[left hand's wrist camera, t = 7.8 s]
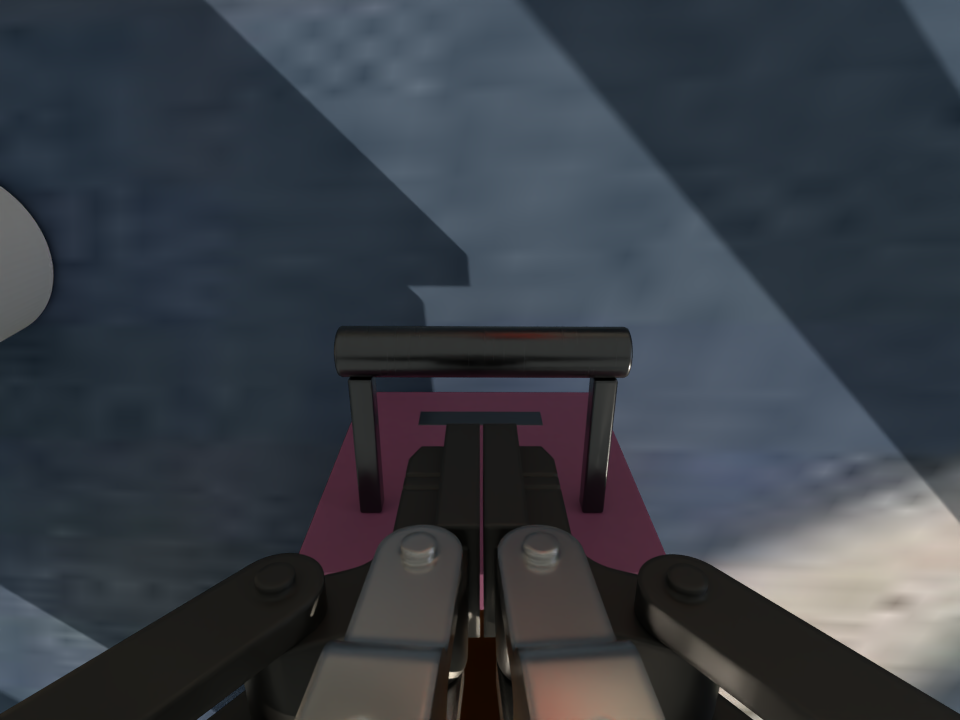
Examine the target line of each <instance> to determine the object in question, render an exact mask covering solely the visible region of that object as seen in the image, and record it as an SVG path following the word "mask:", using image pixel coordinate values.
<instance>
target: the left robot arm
mask: <svg viewBox="0 0 960 720" xmlns="http://www.w3.org/2000/svg"><path fill="white" fill-rule="evenodd" d="M483 602H484V637H496V686H497V695H498V704H499V713H500V720H753V719H751V718H750V717H749V716H748V715H746V714H745V713H744V712H742V711H741V710H740V709H738V708H737V707H736V706H735V705H733V704H732V703H731V702H729V701H728V700H727V699H725V698H724V697H723V696H722V695H720V694H719V693H718V692H719V687H721V688H722V689H724V690H725V691H726V692H728V693H729V694H730V695H732V696H733V697H734V698H736V699H737V700H738V701H740V702H741V703H742V704H743V705H745V706H746V707H747V708H749V709H750V710H751V711H753V712H754V713H755V714H757V715H758V716H759V717H761V718H762V719H763V720H960V714H959V713H957V712H955V711H954V710H952V709H950V708H949V707H947V706H945V705H944V704H942V703H940V702H939V701H937V700H935V699H934V698H932V697H930V696H929V695H927V694H925V693H924V692H922V691H920V690H919V689H917V688H915V687H914V686H912V685H910V684H909V683H907V682H905V681H904V680H902V679H900V678H899V677H897V676H895V675H894V674H892V673H890V672H889V671H887V670H885V669H884V668H882V667H880V666H879V665H877V664H875V663H874V662H872V661H870V660H869V659H867V658H865V657H864V656H862V655H860V654H859V653H857V652H855V651H854V650H852V649H850V648H849V647H847V646H845V645H844V644H842V643H840V642H839V641H837V640H835V639H833V638H832V637H830V636H828V635H827V634H825V633H823V632H822V631H820V630H818V629H817V628H815V627H813V626H812V625H810V624H808V623H807V622H805V621H803V620H802V619H800V618H798V617H797V616H795V615H793V614H792V613H790V612H788V611H787V610H785V609H783V608H782V607H780V606H778V605H777V604H775V603H773V602H772V601H770V600H768V599H767V598H765V597H763V596H762V595H760V594H758V593H757V592H755V591H753V590H752V589H750V588H748V587H747V586H745V585H743V584H742V583H740V582H738V581H737V580H735V579H733V578H732V577H730V576H728V575H727V574H725V573H723V572H722V571H720V570H718V569H717V568H715V567H713V566H712V565H710V564H708V563H706V562H704V561H701V560H699V559H696V558H693V557H689V556H684V555H675V554H668V555H660V556H656V557H653V558H651V559H649V560H648V561H646V562H645V563H644V564H643V565H642V566H641V568H640V570H639V572H638V574H634V573H630V572H625V571H621V570H617V569H613V568H610V567H607V566H604V565H602V564H599V563H597V562H595V561H593V560H592V559H590V558H589V557H587V556H586V555H585V552H584V549H583V547H582V545H581V544H580V542H579V541H578V540H577V539H576V538H575V537H574V536H572V535H571V530H570V526H569V522H568V517H567V513H566V508H565V504H564V500H563V495H562V491H561V489H560V482H559V478H558V474H557V469H556V465H555V460H554V458H553V457H552V456H551V455H550V454H549V453H548V452H547V451H546V450H545V449H544V448H543V447H542V446H519V440H518V432H517V424H516V423H483ZM468 638H480V423H447V424H446V432H445V441H444V446H421V447H420V448H419V449H418V450H417V451H416V452H415V453H414V454H413V455H412V456H411V457H410V458H409V461H408V465H407V470H406V477H405V479H404V484H403V490H402V493H401V497H400V502H399V506H398V511H397V515H396V520H395V525H394V529H393V532H392V533H391V534H389V535H388V536H386V537H385V538H384V539H383V540H382V541H381V542H380V544H379V545H378V547H377V549H376V552H375V555H374V557H373V560H371V561H369V562H367V563H365V564H363V565H361V566H358V567H355V568H352V569H348V570H344V571H340V572H336V573H331V574H327V575H324V571H323V568H322V566H321V565H320V564H319V562H317V561H316V560H315V559H313V558H311V557H310V556H306V555H303V554H298V553H283V554H277V555H272V556H269V557H265V558H263V559H260V560H258V561H256V562H254V563H252V564H250V565H248V566H247V567H245V568H243V569H242V570H240V571H238V572H237V573H235V574H233V575H232V576H230V577H228V578H227V579H225V580H223V581H222V582H220V583H218V584H217V585H215V586H213V587H212V588H210V589H208V590H207V591H205V592H203V593H202V594H200V595H198V596H197V597H195V598H193V599H192V600H190V601H188V602H187V603H185V604H183V605H182V606H180V607H178V608H177V609H175V610H173V611H172V612H170V613H168V614H167V615H165V616H163V617H162V618H160V619H158V620H157V621H155V622H153V623H152V624H150V625H148V626H147V627H145V628H143V629H142V630H140V631H138V632H137V633H135V634H133V635H132V636H130V637H128V638H127V639H125V640H123V641H122V642H120V643H118V644H117V645H115V646H113V647H112V648H110V649H108V650H106V651H105V652H103V653H101V654H100V655H98V656H96V657H95V658H93V659H91V660H90V661H88V662H86V663H85V664H83V665H81V666H80V667H78V668H76V669H75V670H73V671H71V672H70V673H68V674H66V675H65V676H63V677H61V678H60V679H58V680H56V681H55V682H53V683H51V684H50V685H48V686H46V687H45V688H43V689H41V690H40V691H38V692H36V693H35V694H33V695H31V696H30V697H28V698H26V699H25V700H23V701H21V702H20V703H18V704H16V705H15V706H13V707H11V708H10V709H8V710H6V711H5V712H3V713H1V714H0V720H197V719H198V718H199V717H201V716H202V715H203V714H205V713H206V712H207V711H209V710H210V709H211V708H213V707H214V706H215V705H217V704H218V703H219V702H220V701H222V700H223V699H224V698H226V697H227V696H228V695H230V694H231V693H232V692H234V691H235V690H236V689H238V688H239V687H240V686H242V685H243V684H244V685H245V691H244V692H242V693H241V694H240V695H238V696H237V697H236V698H235V699H233V700H232V701H231V702H229V703H228V704H227V705H225V706H224V707H223V708H222V709H220V710H219V711H218V712H216V713H215V714H214V715H212V716H211V717H210V718H209V719H207V720H460V713H461V704H462V695H463V686H464V668H465V666H466V663H467V658H468Z"/></svg>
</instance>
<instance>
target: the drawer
mask: <svg viewBox="0 0 960 720" xmlns="http://www.w3.org/2000/svg"><path fill="white" fill-rule="evenodd" d="M632 356H633V348H632V339H631V335H630V332H629V330H628V329H627V328H625V327H500V326H341V327H339V328H338V330H337V333H336V336H335V342H334V361H335V367H336V370H337V373H338V375H339V376H341V377H350V378H349V380H348V386H349V397H350V407H351V418H352V421H351V424H350V426H349V429H348V431H347V434H346V436H345V439H344V441H343V444H342V447H341V449H340V452H339V454H338V457H337V459H336V462H335V464H334V467H333V469H332V472H331V474H330V477H329V479H328V482H327V484H326V487H325V489H324V492H323V494H322V497H321V499H320V502H319V504H318V507H317V509H316V512H315V514H314V517H313V519H312V522H311V524H310V527H309V529H308V532H307V534H306V537H305V539H304V542H303V545H302V547H301V550H300V552H299V554H303V555H306V556H310V557H311V558H313V559H315V560H316V561H317V562H319V564H320V565H321V566H322V568H323V571H324V575H327V574H331V573H336V572H340V571H344V570H348V569H352V568H355V567H358V566H361V565H363V564H365V563H367V562H369V561H371V560H373V557H374V555H375V552H376V549H377V547H378V545H379V544H380V542H381V541H382V540H383V539H384V538H385V537H386V536H388V535H389V534H391V533H392V532H393V529H394V525H395V520H396V515H397V511H398V506H399V502H400V497H401V493H402V490H403V484H404V479H405V477H406V470H407V465H408V461H409V458H410V457H411V456H412V455H413V454H414V453H415V452H416V451H417V450H418V449H419V448H420V447H421V446H444V441H445V432H446V424H447V423H480V638H468V658H467V663H466V666H465V668H464V686H463V695H462V704H461V713H460V720H500V713H499V704H498V695H497V686H496V637H484V602H483V423H516V424H517V432H518V440H519V446H542V447H543V448H544V449H545V450H546V451H547V452H548V453H549V454H550V455H551V456H552V457H553V458H554V460H555V465H556V469H557V474H558V478H559V482H560V489H561V491H562V495H563V500H564V504H565V508H566V513H567V517H568V522H569V526H570V530H571V535H572V536H574V537H575V538H576V539H577V540H578V541H579V542H580V544H581V545H582V547H583V549H584V552H585V555H586V556H587V557H589V558H590V559H592V560H593V561H595V562H597V563H599V564H602V565H604V566H607V567H610V568H613V569H617V570H621V571H625V572H630V573H634V574H638V572H639V570H640V568H641V566H642V565H643V564H644V563H645V562H646V561H648V560H649V559H651V558H653V557H656V556H660V555H666V554H665V552H664V549H663V547H662V545H661V542H660V540H659V538H658V535H657V533H656V531H655V528H654V526H653V523H652V521H651V519H650V516H649V514H648V512H647V509H646V507H645V505H644V502H643V500H642V498H641V495H640V493H639V491H638V488H637V486H636V484H635V481H634V479H633V477H632V474H631V472H630V469H629V467H628V465H627V462H626V460H625V458H624V455H623V453H622V451H621V448H620V446H619V444H618V441H617V439H616V437H615V434H614V432H613V430H612V429H613V420H614V411H615V402H616V393H617V384H618V381H617V379H616V378H624V377H627V376H628V374H629V372H630V369H631V365H632ZM376 377H509V378H590V385H589V393H575V392H377V391H376Z"/></svg>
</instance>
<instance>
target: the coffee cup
mask: <svg viewBox="0 0 960 720" xmlns="http://www.w3.org/2000/svg"><path fill="white" fill-rule="evenodd" d="M52 287H53V264H52V259H51V254H50V251H49V248H48V245H47V242H46V240H45V238H44V236H43V234H42V232H41V230H40V228H39V227H38V225H37V223H36V222H35V220H34V219H33V218H32V216H31V215H30V214H29V212H28V211H27V210H26V209H25V208H24V207H23V205H22V204H21V203H20V202H19V201H18V200H17V199H16V198H14V197H13V196H12V195H11V194H10V193H9V192H7V191H6V190H5V189H4V188H2V187H1V186H0V342H1V341H3V340H5V339H7V338H8V337H10V336H12V335H14V334H15V333H17V332H19V331H21V330H22V329H24V328H26V327H27V326H29V325H30V324H31V323H33V322H34V321H35V320H36V319H37V318H38V317H39V316H40V315H41V313H42V312H43V310H44V309H45V307H46V305H47V303H48V301H49V299H50V296H51V292H52Z"/></svg>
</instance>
